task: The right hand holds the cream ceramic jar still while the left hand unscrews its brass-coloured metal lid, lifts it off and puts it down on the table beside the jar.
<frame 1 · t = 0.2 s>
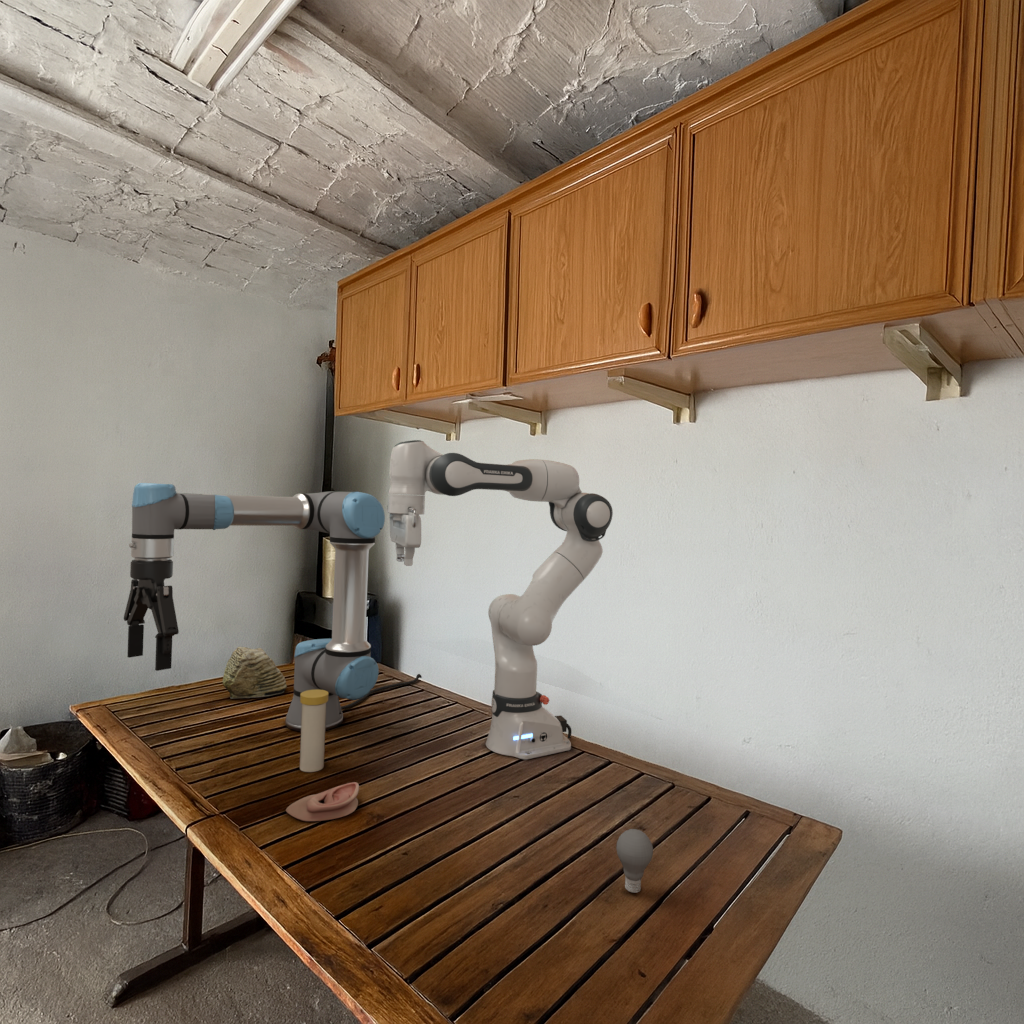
left hand: (148, 662, 129), 28 cm above the table, tool pointing down, fingers open, 13 cm apart
right hand: (404, 563, 154), 48 cm above the table, tool pointing down, fingers open, 8 cm apart
jar: (311, 767, 148), on the table
light bulb: (632, 891, 106), on the table
anatomical model: (322, 809, 129), on the table
fossil: (254, 694, 198), on the table
lid: (314, 694, 148), point 17 cm above the table, screwed on, not yet turned
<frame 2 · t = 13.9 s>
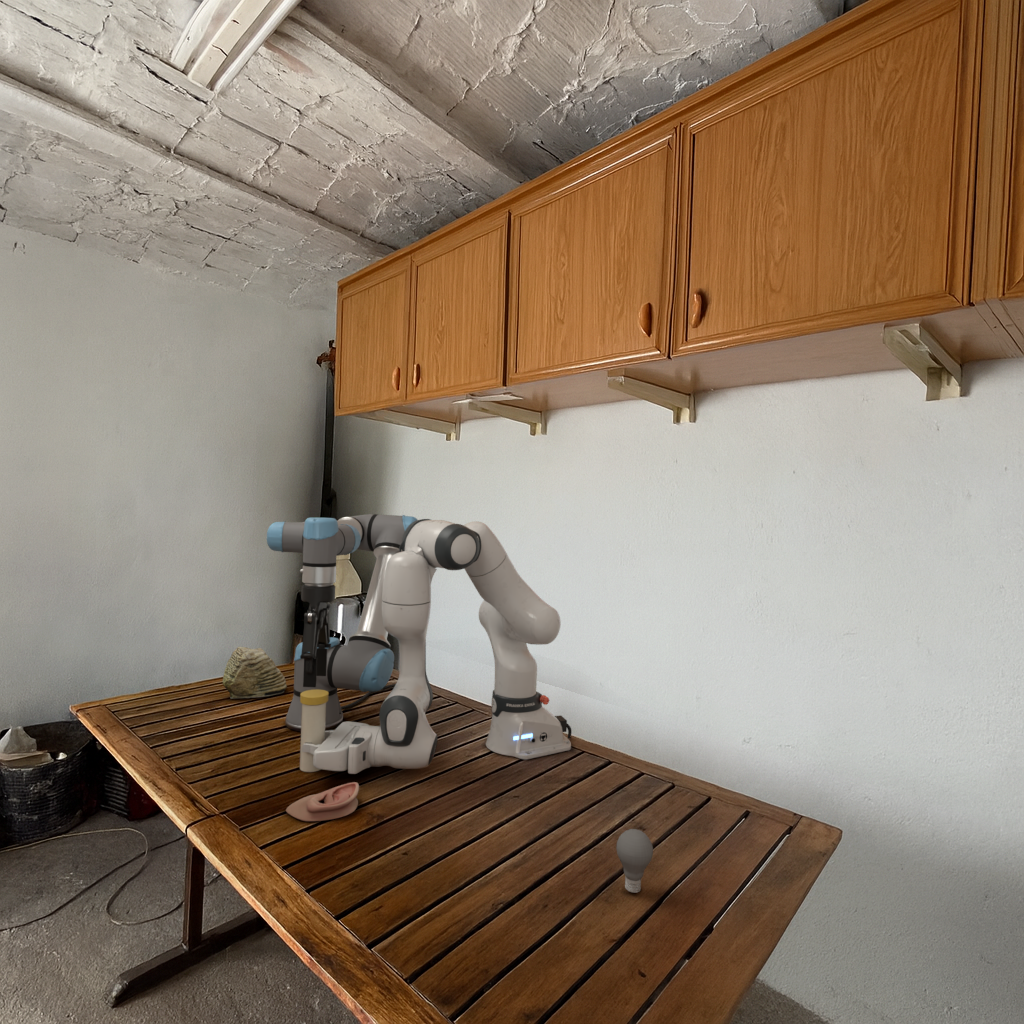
left hand: (315, 680, 148), 20 cm above the table, tool pointing down, fingers open, 8 cm apart
right hand: (308, 741, 148), 6 cm above the table, tool horizontal, fingers closed on jar, 5 cm apart
jar: (311, 767, 148), on the table, touching right hand
everything else where it was.
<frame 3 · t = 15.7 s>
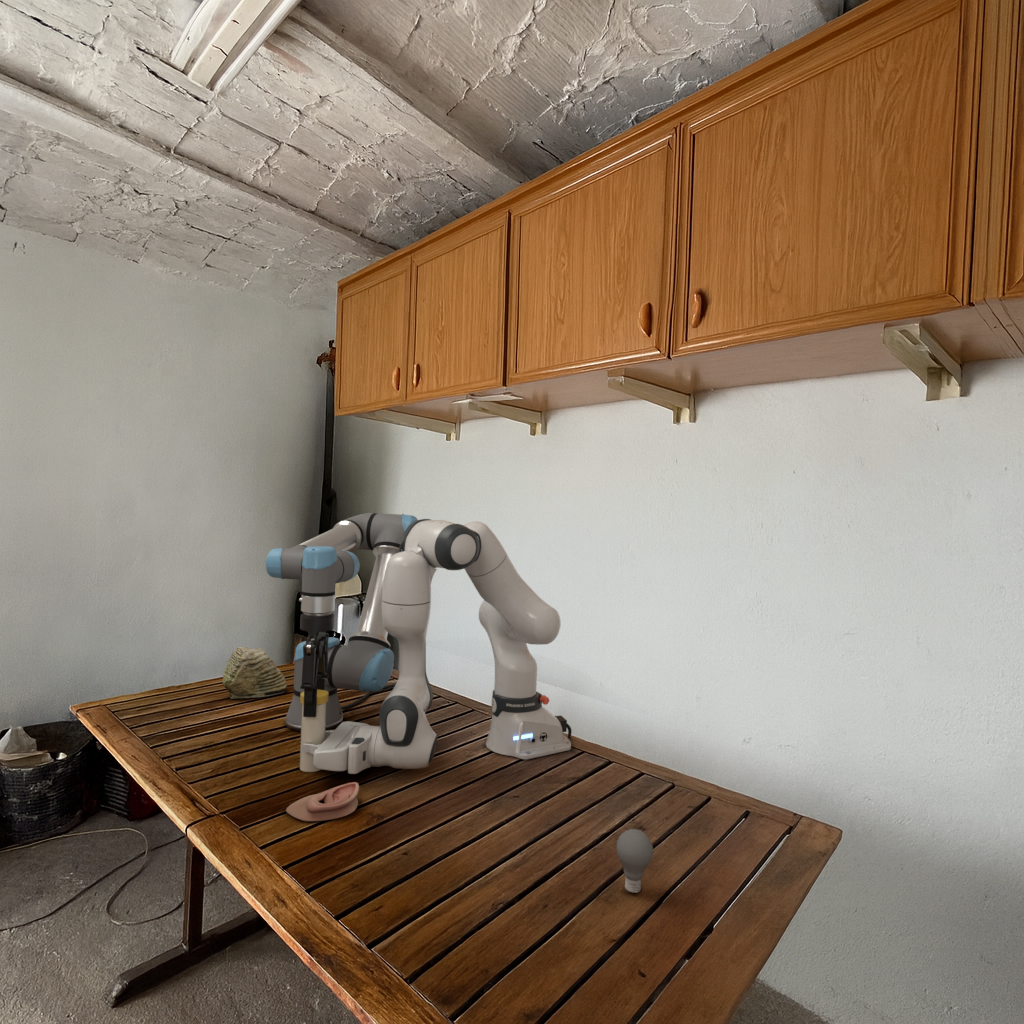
left hand: (313, 711, 148), 13 cm above the table, tool pointing down, fingers closed on lid, 6 cm apart
right hand: (308, 741, 148), 6 cm above the table, tool horizontal, fingers closed on jar, 5 cm apart
jar: (311, 767, 148), on the table, touching right hand
lid: (314, 694, 148), point 17 cm above the table, screwed on, not yet turned, touching left hand
everything else where it was.
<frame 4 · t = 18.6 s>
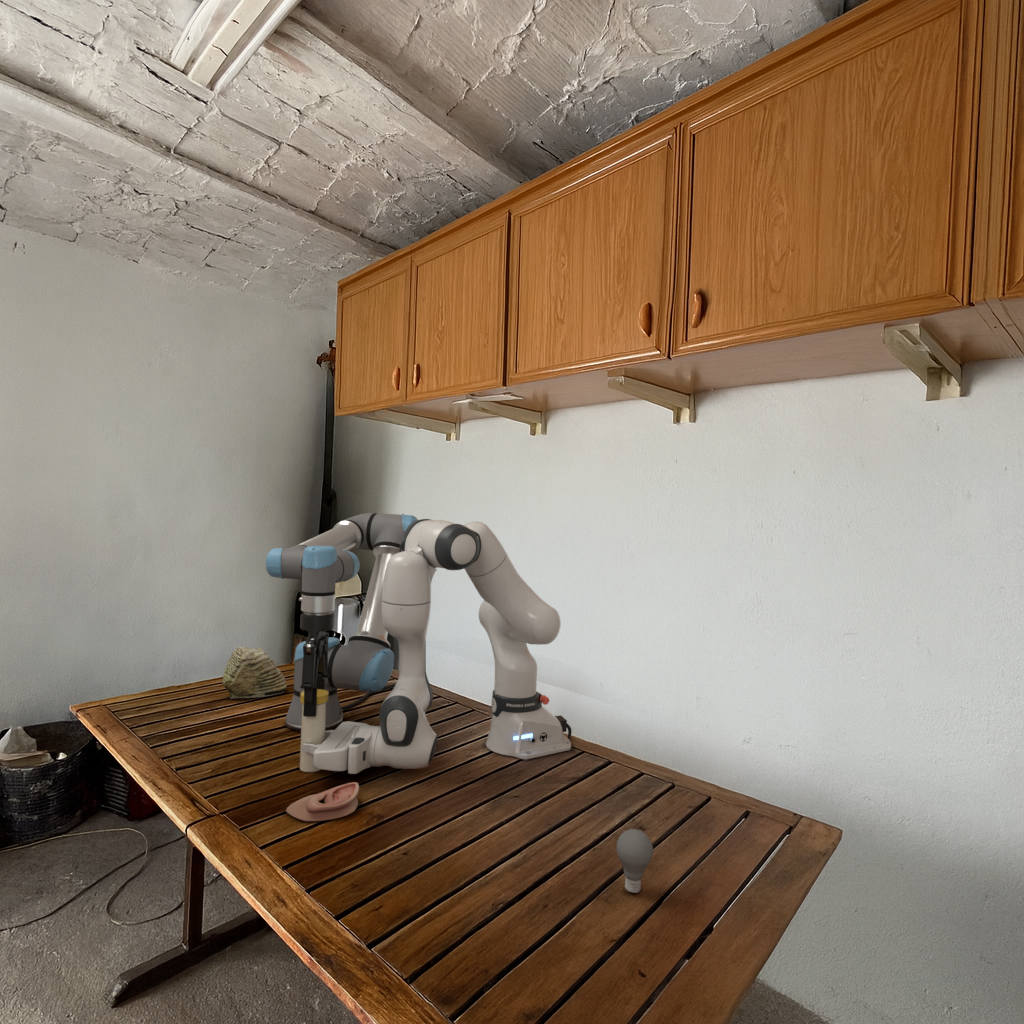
left hand: (313, 710, 148), 13 cm above the table, tool pointing down, fingers closed on lid, 6 cm apart
right hand: (308, 741, 148), 6 cm above the table, tool horizontal, fingers closed on jar, 5 cm apart
jar: (311, 767, 148), on the table, touching right hand
lid: (314, 694, 148), point 17 cm above the table, turned 90° so far, risen 0.1 cm, still on its thread, touching left hand
everything else where it was.
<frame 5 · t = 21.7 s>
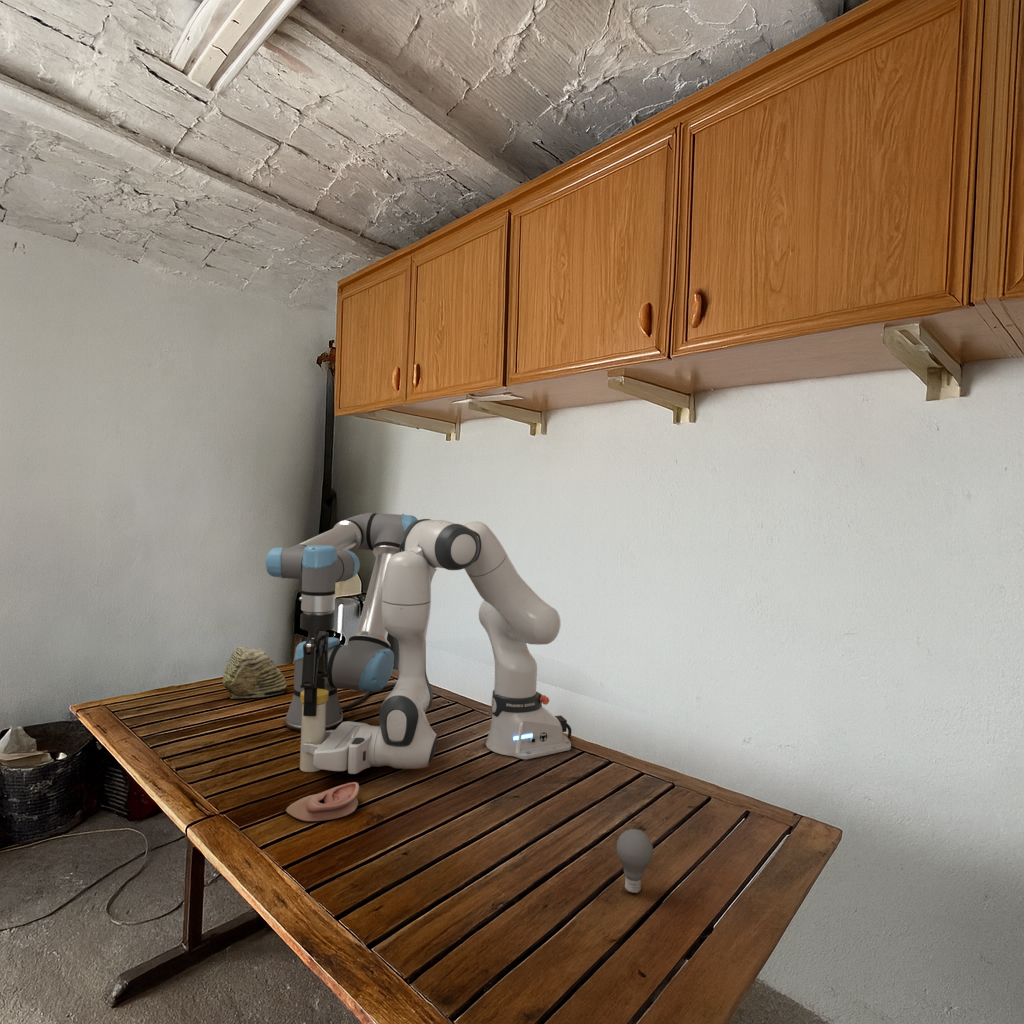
left hand: (313, 710, 148), 13 cm above the table, tool pointing down, fingers closed on lid, 6 cm apart
right hand: (308, 741, 148), 6 cm above the table, tool horizontal, fingers closed on jar, 5 cm apart
jar: (311, 767, 148), on the table, touching right hand
lid: (314, 694, 148), point 17 cm above the table, turned 179° so far, risen 0.2 cm, still on its thread, touching left hand
everything else where it was.
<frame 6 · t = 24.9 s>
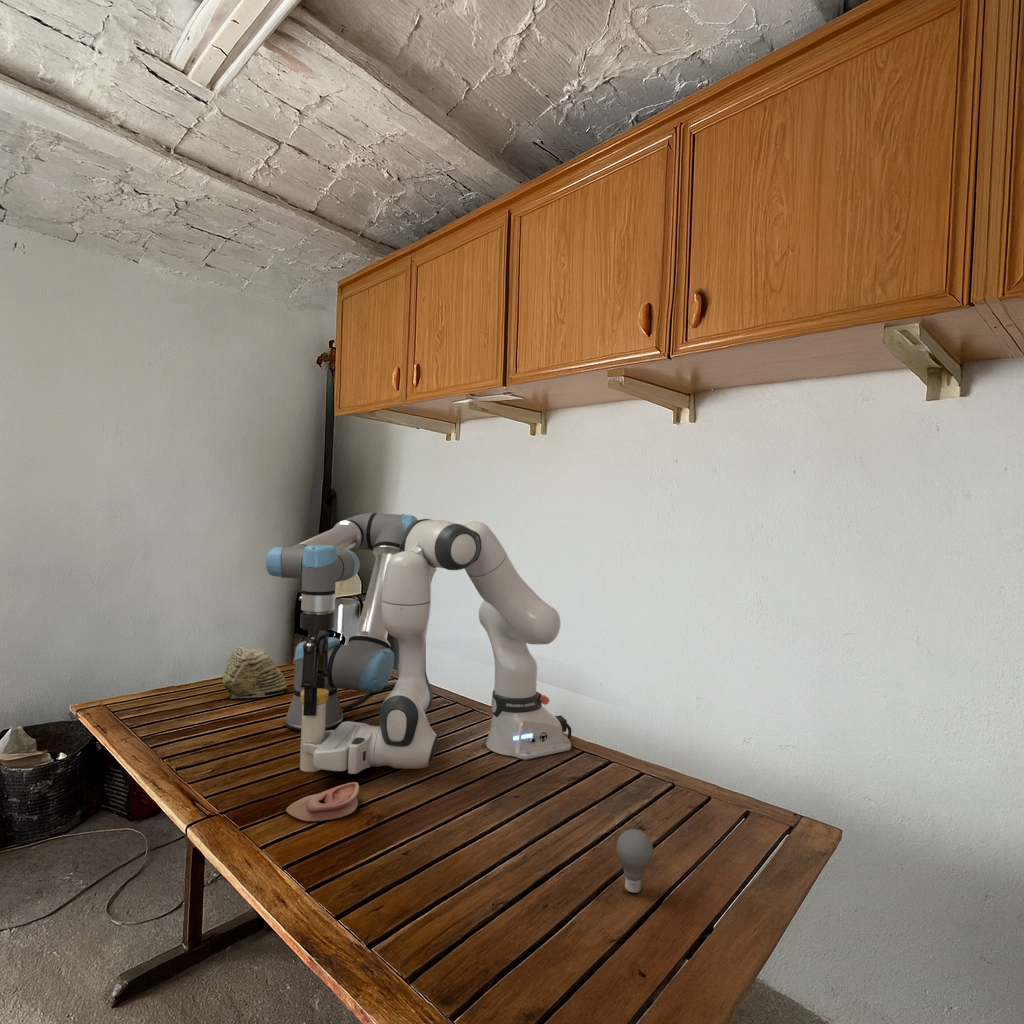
left hand: (313, 709, 148), 13 cm above the table, tool pointing down, fingers closed on lid, 6 cm apart
right hand: (308, 741, 148), 6 cm above the table, tool horizontal, fingers closed on jar, 5 cm apart
jar: (311, 767, 148), on the table, touching right hand
lid: (314, 693, 148), point 17 cm above the table, turned 269° so far, risen 0.3 cm, still on its thread, touching left hand
everything else where it was.
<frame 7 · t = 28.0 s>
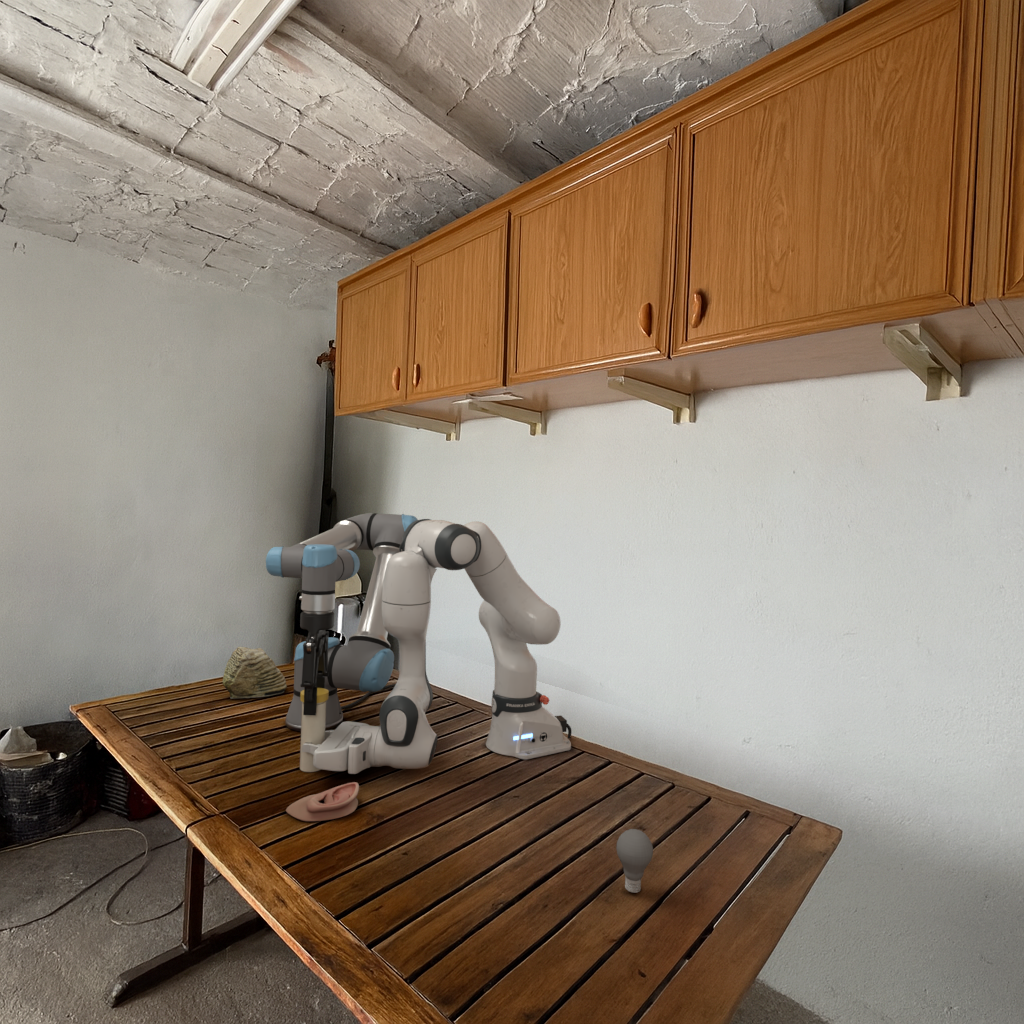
left hand: (313, 709, 148), 14 cm above the table, tool pointing down, fingers closed on lid, 6 cm apart
right hand: (308, 741, 148), 6 cm above the table, tool horizontal, fingers closed on jar, 5 cm apart
jar: (311, 767, 148), on the table, touching right hand
lid: (314, 693, 148), point 17 cm above the table, turned 359° so far, risen 0.4 cm, still on its thread, touching left hand
everything else where it was.
when the left hand's fingers open (0 cm above the table, at t = 35.0 s): lid drops 1 cm, point 1 cm above the table.
when the right hand's fingers open (6 cm above the table, at t = 35.7 s): jar stays where it is, on the table.
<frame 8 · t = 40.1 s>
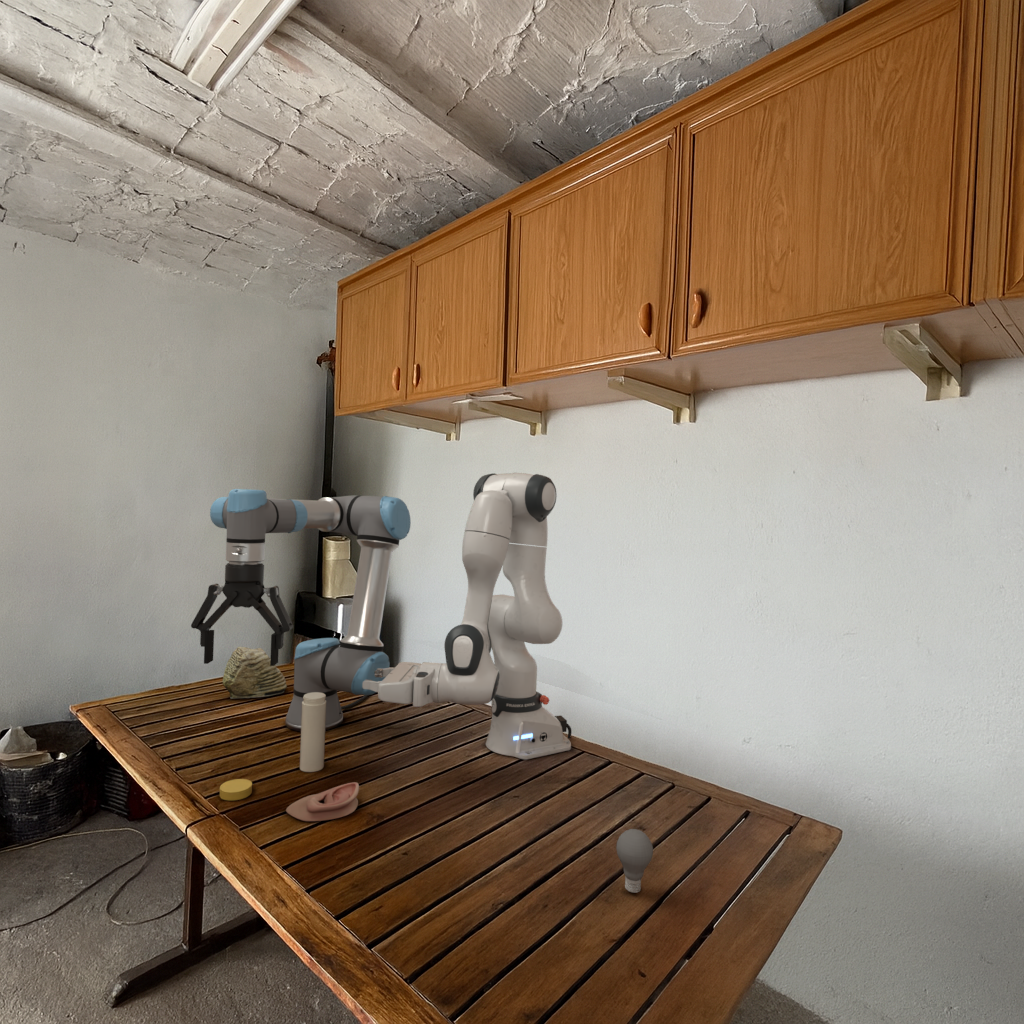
left hand: (241, 663, 133), 28 cm above the table, tool pointing down, fingers open, 13 cm apart
right hand: (369, 678, 147), 22 cm above the table, tool horizontal, fingers open, 8 cm apart
jar: (311, 767, 148), on the table
lid: (236, 787, 134), point 1 cm above the table, off its thread
everything else where it was.
at the end: lid came off its thread; lid point 1.4 cm above the table; the left hand is holding nothing; the right hand is holding nothing; jar tilted 0°; jar moved 0.0 cm from its start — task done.
